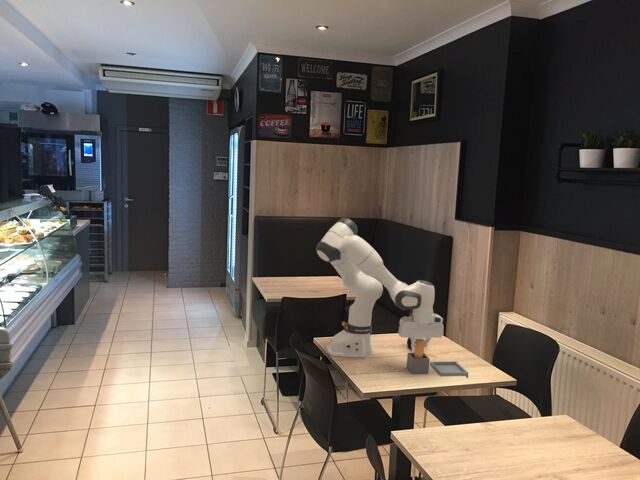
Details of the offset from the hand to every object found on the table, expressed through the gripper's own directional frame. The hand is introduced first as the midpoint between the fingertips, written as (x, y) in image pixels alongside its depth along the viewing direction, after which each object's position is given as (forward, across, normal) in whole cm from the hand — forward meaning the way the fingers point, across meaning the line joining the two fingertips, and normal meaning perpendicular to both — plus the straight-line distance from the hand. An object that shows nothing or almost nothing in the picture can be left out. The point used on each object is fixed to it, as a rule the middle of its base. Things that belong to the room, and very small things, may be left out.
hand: (419, 346), depth 238 cm
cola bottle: (+12, +10, +30) cm, 34 cm away
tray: (+12, +15, 0) cm, 19 cm away
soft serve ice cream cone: (+12, +7, +19) cm, 24 cm away
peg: (+10, 0, 0) cm, 10 cm away
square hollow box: (+12, 0, 0) cm, 12 cm away
